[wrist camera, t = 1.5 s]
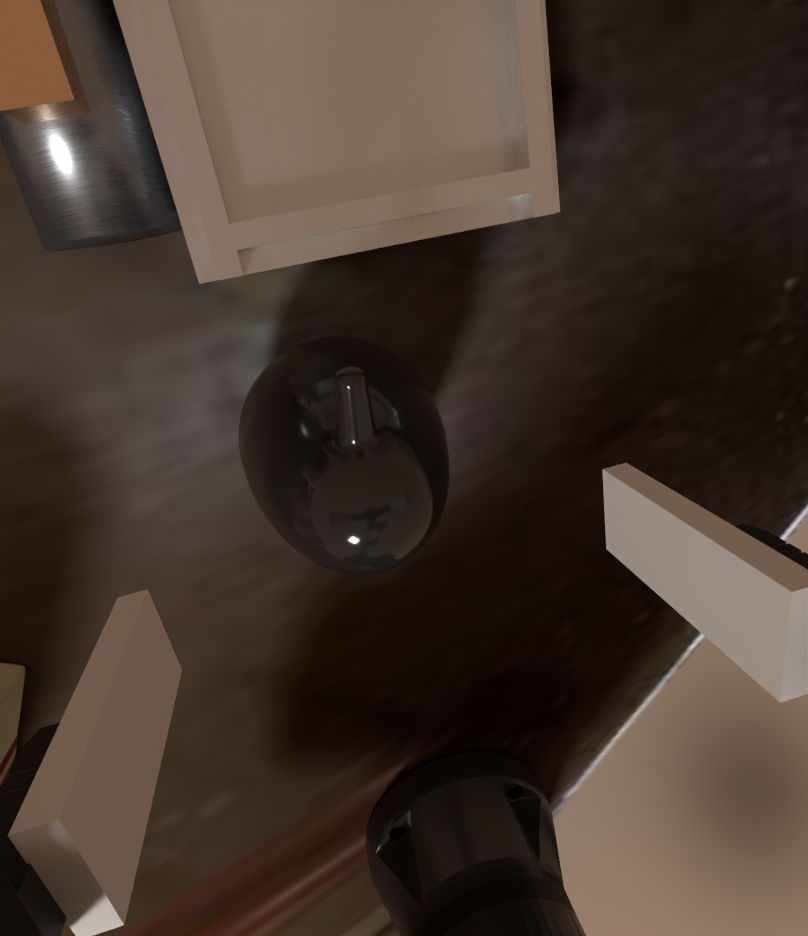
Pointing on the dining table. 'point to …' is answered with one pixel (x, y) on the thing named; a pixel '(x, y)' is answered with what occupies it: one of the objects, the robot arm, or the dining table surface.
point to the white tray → (276, 123)
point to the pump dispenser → (346, 454)
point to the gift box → (9, 713)
